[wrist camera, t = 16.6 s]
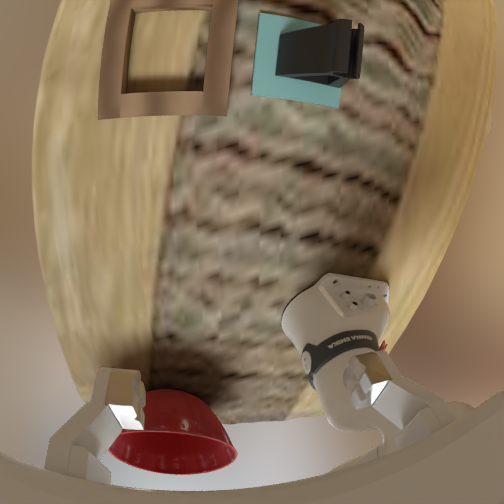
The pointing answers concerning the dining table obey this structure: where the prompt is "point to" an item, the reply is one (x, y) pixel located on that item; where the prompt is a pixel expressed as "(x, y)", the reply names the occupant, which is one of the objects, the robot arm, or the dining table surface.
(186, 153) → the dining table surface
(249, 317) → the dining table surface
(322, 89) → the teal mat
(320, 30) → the dark gray a-frame stand
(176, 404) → the mixing bowl
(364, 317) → the robot arm
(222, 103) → the walnut holder
